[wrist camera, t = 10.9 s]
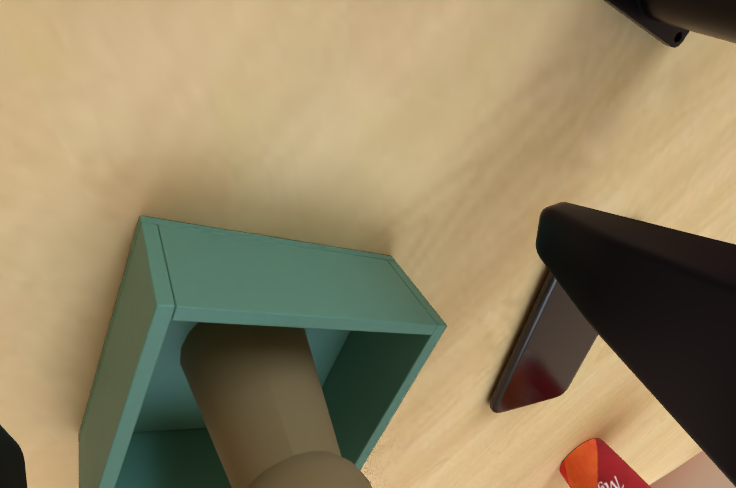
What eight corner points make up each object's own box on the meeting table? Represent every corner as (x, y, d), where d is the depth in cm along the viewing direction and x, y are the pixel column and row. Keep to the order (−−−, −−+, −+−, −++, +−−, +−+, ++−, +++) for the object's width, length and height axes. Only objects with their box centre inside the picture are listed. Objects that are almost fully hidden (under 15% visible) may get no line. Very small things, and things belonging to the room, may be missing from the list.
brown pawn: (285, 388, 28) (370, 600, 20) (168, 396, 25) (213, 653, 17) (320, 299, 26) (432, 501, 17) (194, 295, 22) (262, 541, 14)
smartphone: (558, 388, 43) (648, 223, 35) (565, 396, 43) (659, 230, 34) (482, 408, 40) (563, 230, 31) (489, 417, 39) (573, 238, 31)
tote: (391, 255, 27) (448, 325, 23) (306, 421, 31) (340, 504, 27) (139, 214, 20) (156, 304, 16) (78, 435, 24) (78, 548, 20)
